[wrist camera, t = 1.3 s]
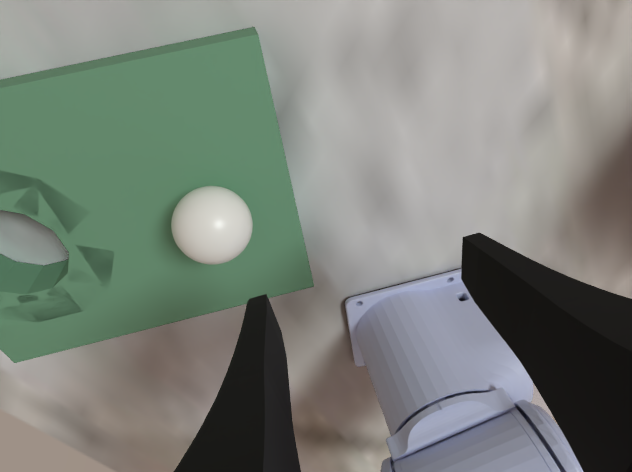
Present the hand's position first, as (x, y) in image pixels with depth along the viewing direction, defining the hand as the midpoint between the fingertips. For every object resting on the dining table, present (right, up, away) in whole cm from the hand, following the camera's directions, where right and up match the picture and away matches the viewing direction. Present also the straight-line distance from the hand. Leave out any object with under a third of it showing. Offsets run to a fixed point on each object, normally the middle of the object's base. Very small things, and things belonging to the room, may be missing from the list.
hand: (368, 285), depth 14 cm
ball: (-7, +2, +4) cm, 8 cm away
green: (-12, +3, +7) cm, 15 cm away
